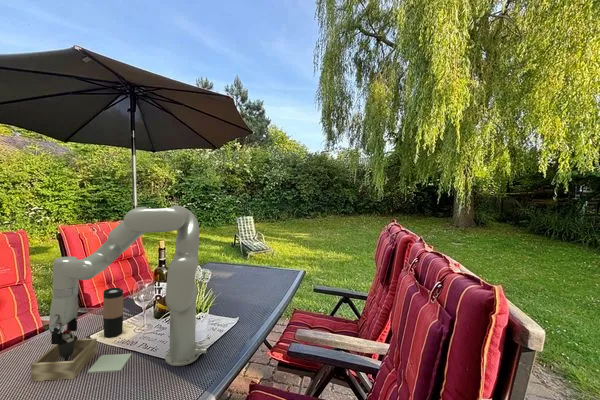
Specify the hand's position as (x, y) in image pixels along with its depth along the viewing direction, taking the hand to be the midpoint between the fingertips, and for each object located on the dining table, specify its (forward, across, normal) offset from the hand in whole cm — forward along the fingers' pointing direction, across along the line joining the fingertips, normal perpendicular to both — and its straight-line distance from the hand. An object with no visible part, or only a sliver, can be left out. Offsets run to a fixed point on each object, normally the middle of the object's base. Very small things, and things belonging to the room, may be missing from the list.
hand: (64, 337), depth 116 cm
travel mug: (+11, -24, +7) cm, 28 cm away
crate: (+11, 0, +1) cm, 11 cm away
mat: (+11, 0, +16) cm, 19 cm away
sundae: (+11, 0, +1) cm, 11 cm away
